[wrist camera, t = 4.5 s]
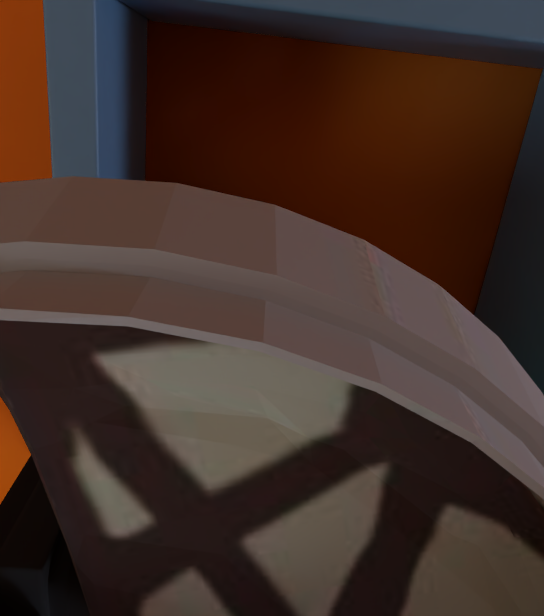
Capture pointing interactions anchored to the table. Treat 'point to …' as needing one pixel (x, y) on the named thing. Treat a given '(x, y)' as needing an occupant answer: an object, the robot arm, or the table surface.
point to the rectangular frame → (323, 28)
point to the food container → (261, 411)
